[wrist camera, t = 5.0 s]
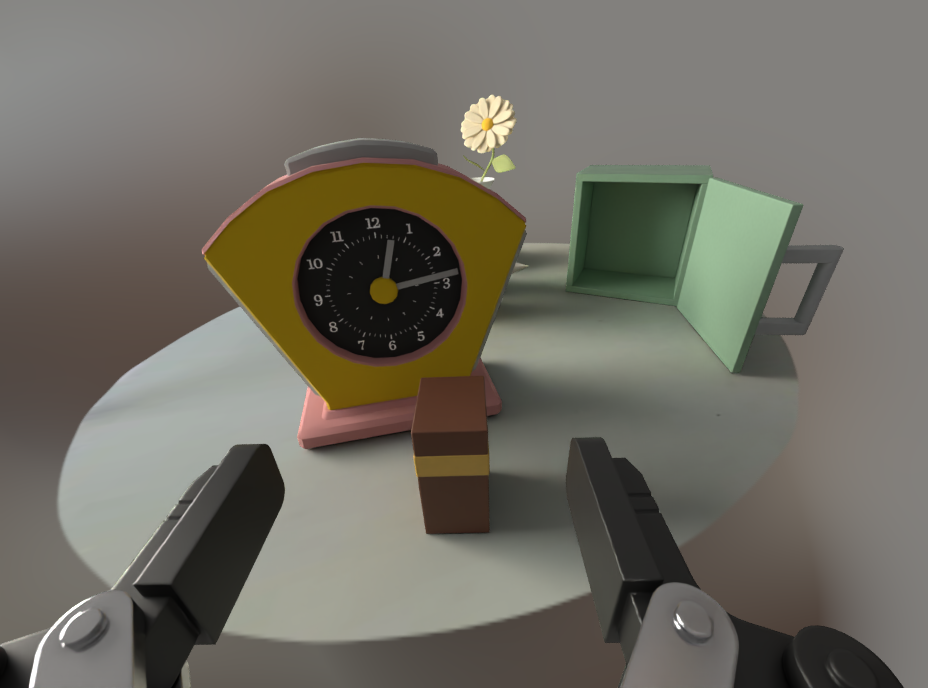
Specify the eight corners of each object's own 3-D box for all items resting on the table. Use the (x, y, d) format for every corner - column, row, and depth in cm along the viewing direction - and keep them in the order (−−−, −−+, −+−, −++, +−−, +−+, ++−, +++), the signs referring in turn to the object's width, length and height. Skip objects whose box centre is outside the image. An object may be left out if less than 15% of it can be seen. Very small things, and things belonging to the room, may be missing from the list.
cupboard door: (725, 308, 49) (768, 175, 42) (798, 375, 37) (879, 202, 29) (676, 307, 50) (709, 177, 42) (731, 373, 37) (792, 204, 30)
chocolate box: (490, 533, 24) (488, 431, 20) (425, 534, 24) (409, 433, 20) (487, 469, 29) (485, 374, 24) (431, 471, 29) (420, 376, 25)
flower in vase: (436, 265, 69) (421, 99, 57) (480, 249, 76) (476, 98, 63) (489, 282, 61) (486, 92, 48) (534, 263, 68) (542, 92, 55)
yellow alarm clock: (265, 460, 30) (136, 155, 20) (285, 390, 38) (202, 145, 28) (531, 411, 34) (547, 130, 23) (500, 357, 42) (501, 128, 31)
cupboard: (679, 306, 51) (713, 175, 43) (565, 291, 57) (576, 173, 49) (680, 282, 57) (710, 165, 49) (579, 271, 63) (590, 165, 55)
